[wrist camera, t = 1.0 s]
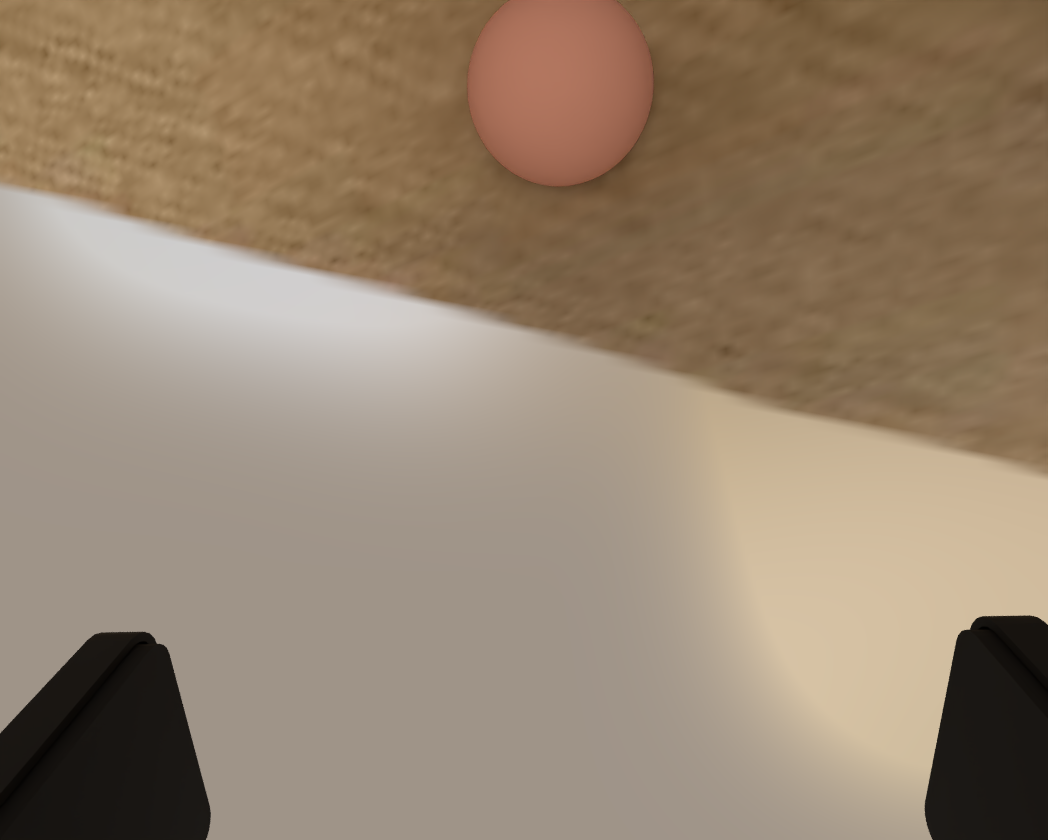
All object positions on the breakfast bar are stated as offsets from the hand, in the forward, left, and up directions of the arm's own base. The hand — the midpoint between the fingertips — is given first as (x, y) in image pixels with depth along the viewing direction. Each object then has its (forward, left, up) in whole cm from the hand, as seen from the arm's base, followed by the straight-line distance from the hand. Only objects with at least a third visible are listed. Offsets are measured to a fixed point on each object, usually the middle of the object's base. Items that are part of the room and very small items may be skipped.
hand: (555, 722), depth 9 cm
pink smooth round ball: (-1, -8, -17) cm, 19 cm away
